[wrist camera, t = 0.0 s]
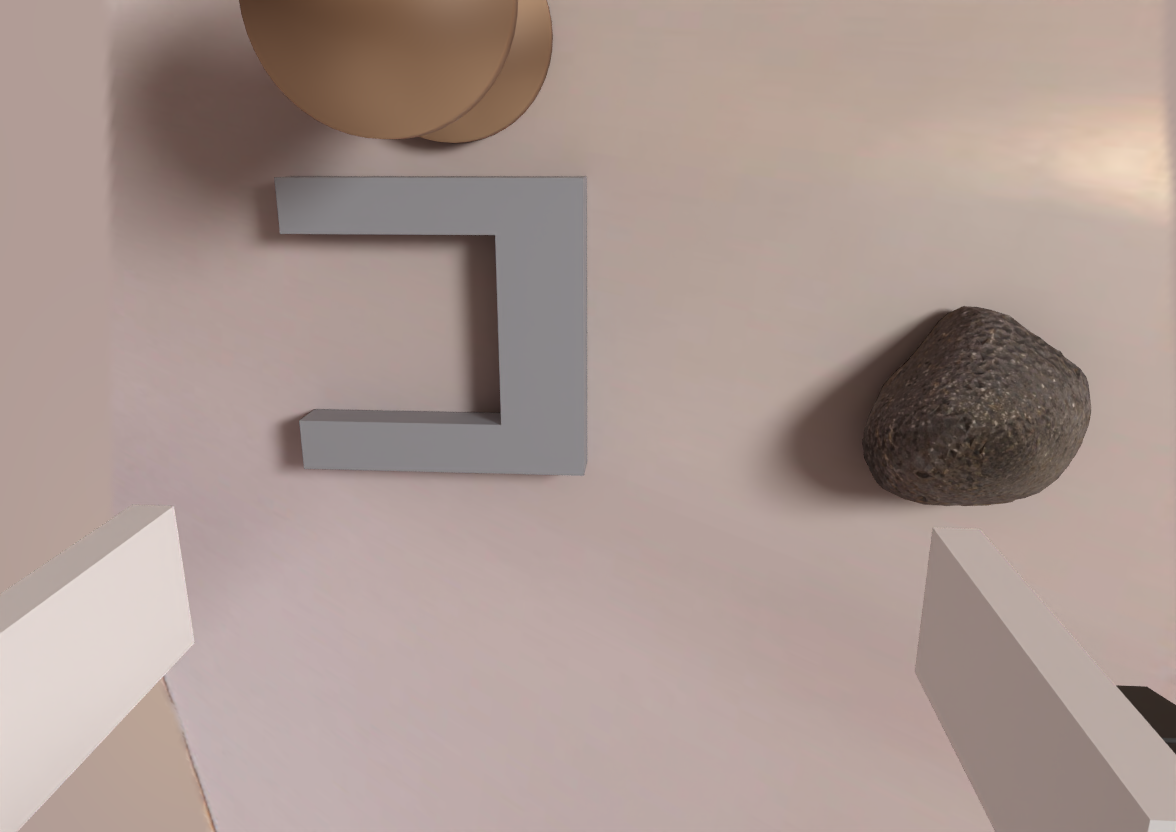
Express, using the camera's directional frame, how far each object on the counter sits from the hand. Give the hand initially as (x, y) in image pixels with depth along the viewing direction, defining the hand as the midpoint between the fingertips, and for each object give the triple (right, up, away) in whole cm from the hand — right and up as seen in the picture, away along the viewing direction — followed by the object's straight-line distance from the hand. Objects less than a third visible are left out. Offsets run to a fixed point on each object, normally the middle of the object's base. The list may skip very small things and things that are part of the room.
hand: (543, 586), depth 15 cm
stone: (+19, +3, +27) cm, 33 cm away
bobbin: (-5, +20, +24) cm, 31 cm away
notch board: (-6, +7, +28) cm, 29 cm away
